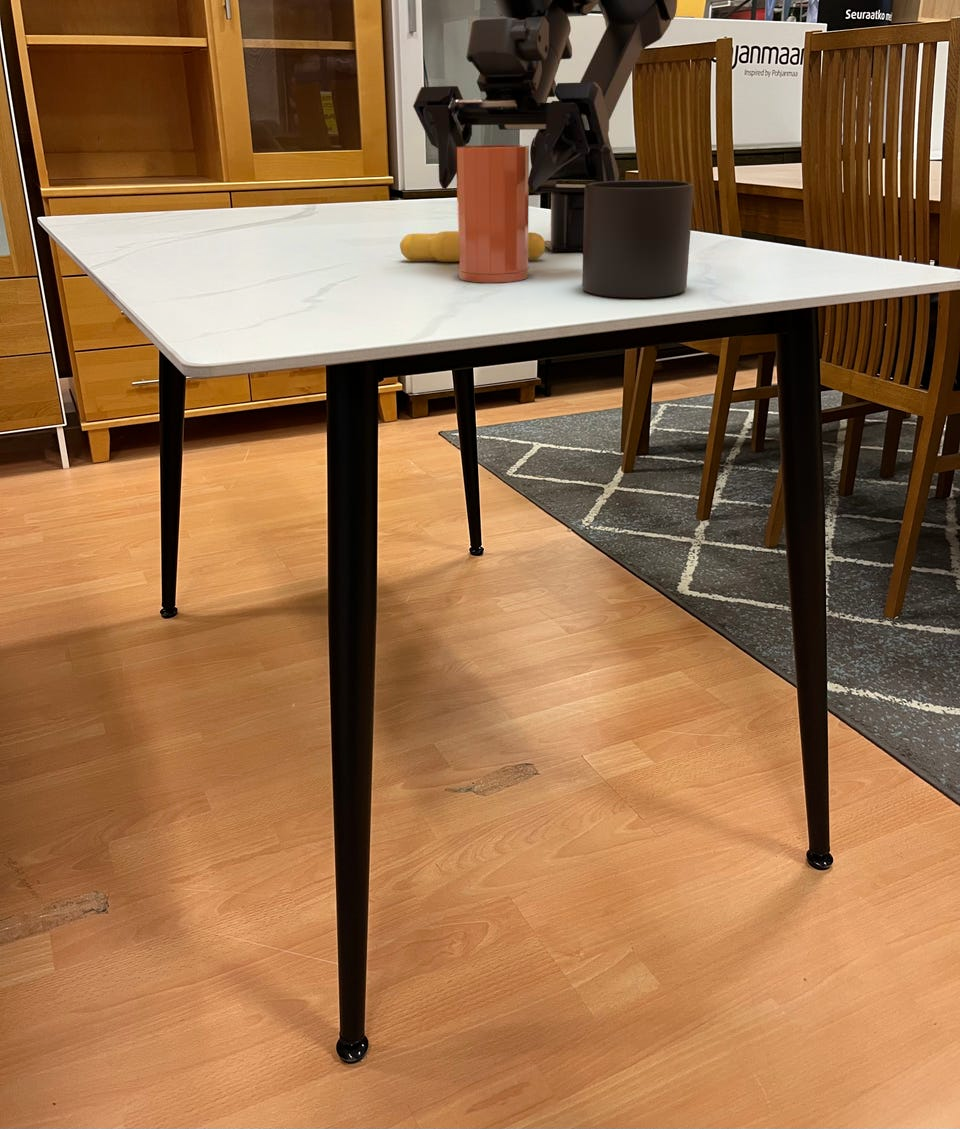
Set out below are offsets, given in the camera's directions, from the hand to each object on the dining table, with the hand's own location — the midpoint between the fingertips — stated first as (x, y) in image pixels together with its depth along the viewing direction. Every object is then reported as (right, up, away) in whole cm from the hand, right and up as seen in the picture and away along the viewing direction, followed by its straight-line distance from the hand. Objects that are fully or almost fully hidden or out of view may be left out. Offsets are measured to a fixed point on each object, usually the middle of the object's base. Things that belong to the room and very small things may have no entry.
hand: (485, 186), depth 91 cm
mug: (+14, -10, -2) cm, 17 cm away
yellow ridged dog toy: (-1, -3, +15) cm, 15 cm away
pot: (+1, -7, +5) cm, 9 cm away
